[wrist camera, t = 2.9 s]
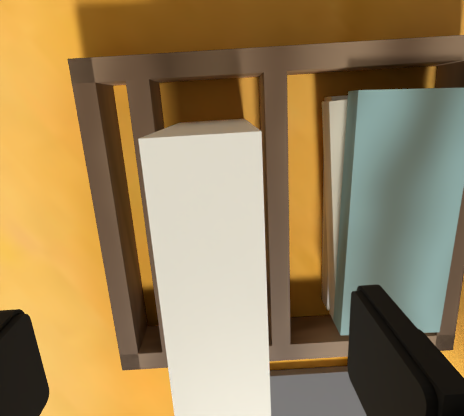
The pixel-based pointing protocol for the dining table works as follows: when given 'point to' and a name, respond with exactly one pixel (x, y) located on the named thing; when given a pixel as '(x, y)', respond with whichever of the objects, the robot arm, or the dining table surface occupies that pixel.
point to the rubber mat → (314, 392)
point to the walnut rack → (274, 174)
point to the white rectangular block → (210, 264)
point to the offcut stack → (391, 198)
